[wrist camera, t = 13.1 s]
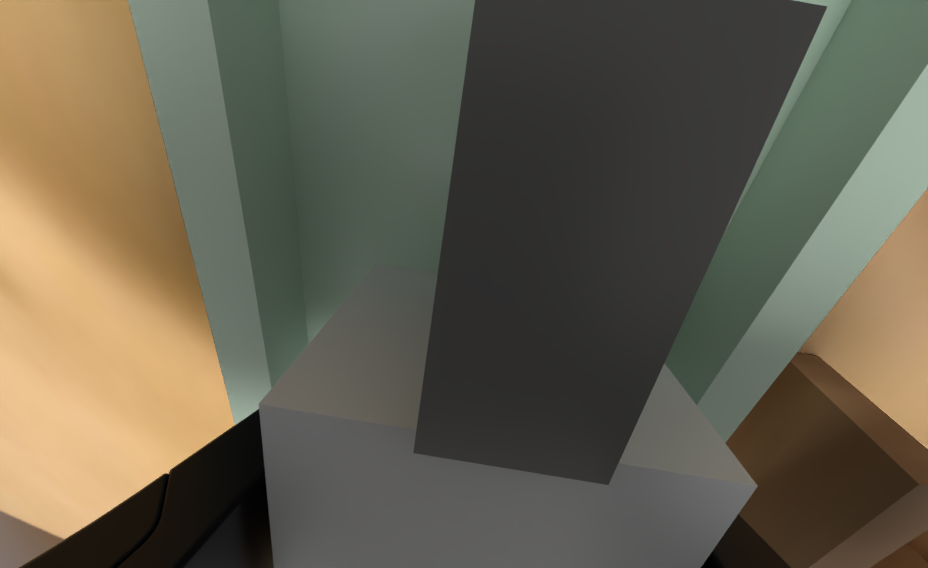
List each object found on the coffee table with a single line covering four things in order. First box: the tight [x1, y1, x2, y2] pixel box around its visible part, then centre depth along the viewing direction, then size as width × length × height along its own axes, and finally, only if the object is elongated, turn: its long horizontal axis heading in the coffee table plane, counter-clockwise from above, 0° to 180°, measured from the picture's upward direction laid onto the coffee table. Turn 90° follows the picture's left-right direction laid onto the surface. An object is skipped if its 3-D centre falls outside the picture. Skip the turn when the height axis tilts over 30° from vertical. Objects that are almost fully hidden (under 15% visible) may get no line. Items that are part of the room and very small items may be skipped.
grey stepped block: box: [259, 0, 828, 568], centre depth 7 cm, size 6×12×5 cm, turn 172°
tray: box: [128, 0, 928, 443], centre depth 8 cm, size 12×18×3 cm
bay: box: [725, 353, 928, 568], centre depth 11 cm, size 10×8×4 cm
